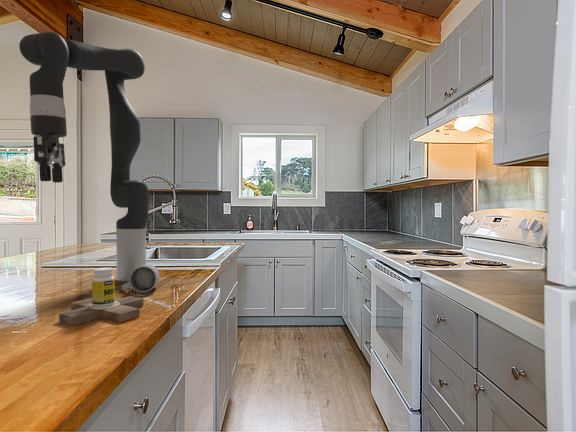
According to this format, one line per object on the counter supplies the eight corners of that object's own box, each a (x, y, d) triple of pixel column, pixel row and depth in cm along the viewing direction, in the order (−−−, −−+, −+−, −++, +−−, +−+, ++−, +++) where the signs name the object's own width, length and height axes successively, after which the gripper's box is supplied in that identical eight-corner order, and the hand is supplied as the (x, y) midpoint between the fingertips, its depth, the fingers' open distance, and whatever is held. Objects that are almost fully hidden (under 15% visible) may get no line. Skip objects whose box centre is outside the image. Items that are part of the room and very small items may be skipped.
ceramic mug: (160, 286, 117) (160, 261, 117) (156, 292, 109) (156, 265, 109) (124, 287, 115) (124, 262, 115) (117, 294, 107) (117, 267, 107)
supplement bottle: (105, 307, 85) (105, 270, 85) (87, 306, 86) (86, 270, 86) (119, 302, 90) (118, 267, 89) (101, 301, 91) (101, 266, 90)
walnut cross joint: (42, 317, 84) (42, 308, 84) (114, 299, 100) (114, 292, 100) (91, 331, 76) (91, 321, 76) (161, 309, 91) (161, 301, 91)
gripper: (55, 111, 88) (59, 180, 89) (73, 122, 101) (76, 182, 102) (18, 109, 86) (23, 181, 87) (42, 121, 99) (45, 182, 100)
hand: (52, 181), depth 95 cm, fingers open, 8 cm apart
